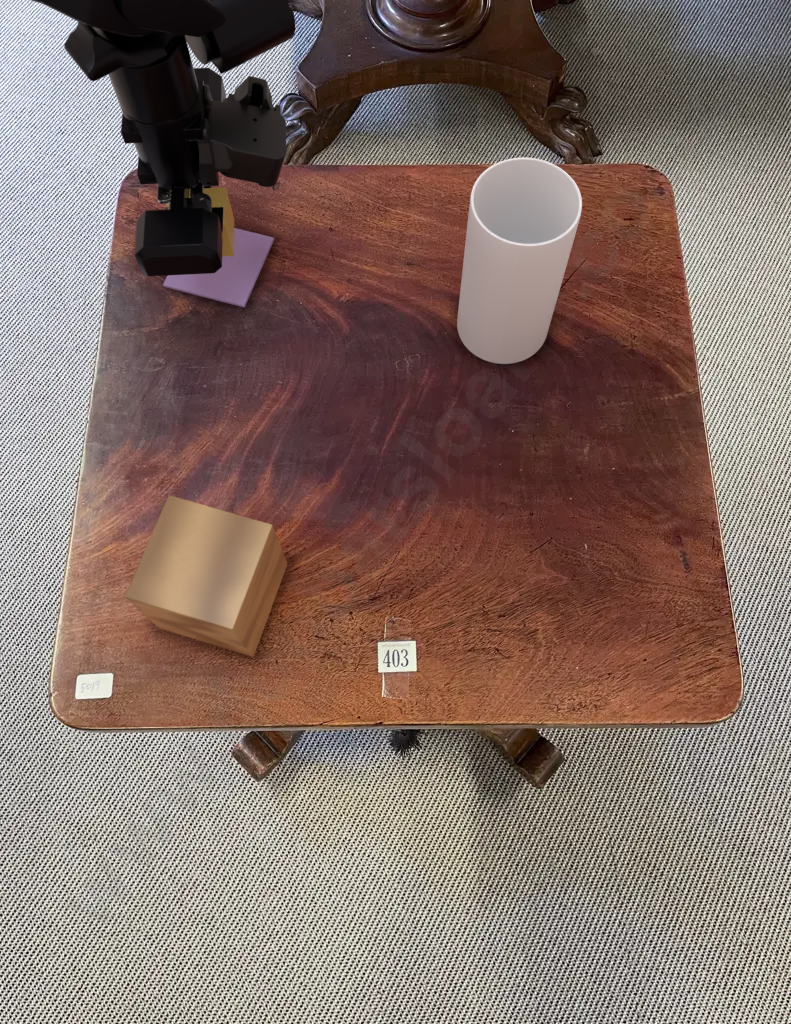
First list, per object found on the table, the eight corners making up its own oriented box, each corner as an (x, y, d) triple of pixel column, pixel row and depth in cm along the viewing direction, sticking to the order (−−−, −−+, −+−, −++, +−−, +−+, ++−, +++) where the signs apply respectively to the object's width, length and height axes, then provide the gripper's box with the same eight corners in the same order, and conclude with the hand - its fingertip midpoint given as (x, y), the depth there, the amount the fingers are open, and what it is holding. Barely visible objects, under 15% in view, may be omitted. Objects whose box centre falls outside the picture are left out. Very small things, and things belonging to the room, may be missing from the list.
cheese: (176, 258, 75) (164, 228, 71) (178, 222, 76) (166, 189, 73) (233, 256, 75) (225, 225, 71) (234, 219, 76) (226, 187, 73)
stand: (158, 628, 68) (124, 596, 59) (196, 536, 70) (168, 494, 62) (253, 657, 67) (232, 629, 58) (288, 563, 69) (272, 524, 61)
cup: (551, 292, 79) (586, 163, 64) (543, 369, 76) (578, 252, 61) (462, 281, 79) (477, 151, 64) (451, 357, 76) (463, 239, 62)
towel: (163, 286, 79) (162, 284, 79) (195, 220, 82) (195, 217, 82) (244, 307, 78) (244, 306, 78) (274, 239, 81) (274, 237, 81)
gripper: (272, 192, 58) (297, 324, 72) (271, -4, 65) (294, 153, 79) (106, 200, 58) (165, 331, 72) (123, 2, 65) (174, 158, 79)
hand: (204, 239), depth 76 cm, fingers closed on cheese, 4 cm apart
